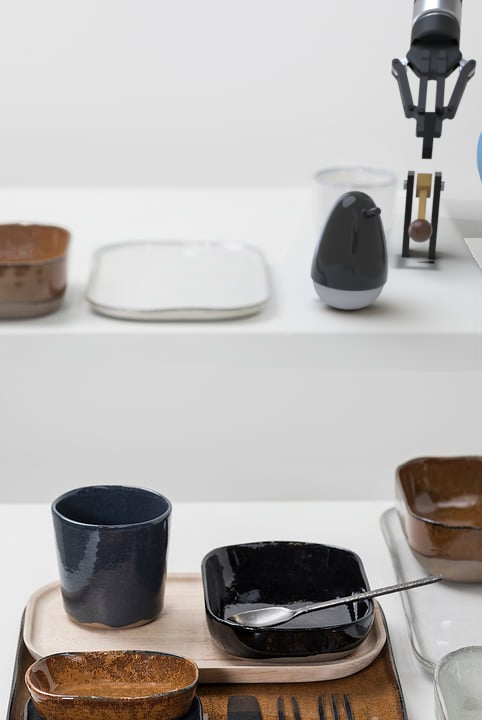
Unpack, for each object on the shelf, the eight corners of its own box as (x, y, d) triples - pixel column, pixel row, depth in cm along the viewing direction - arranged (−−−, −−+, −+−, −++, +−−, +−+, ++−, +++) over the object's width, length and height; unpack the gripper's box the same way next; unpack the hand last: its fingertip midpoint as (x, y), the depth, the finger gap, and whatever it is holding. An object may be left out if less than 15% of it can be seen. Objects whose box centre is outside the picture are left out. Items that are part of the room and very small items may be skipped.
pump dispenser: (334, 321, 140) (344, 206, 133) (294, 295, 148) (302, 185, 141) (400, 310, 144) (413, 198, 137) (357, 285, 152) (367, 178, 145)
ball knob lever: (431, 247, 158) (432, 230, 155) (407, 246, 158) (408, 229, 156) (434, 188, 165) (436, 170, 163) (412, 187, 166) (413, 170, 163)
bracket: (437, 270, 164) (445, 178, 159) (397, 269, 165) (403, 176, 160) (437, 259, 171) (445, 170, 166) (398, 257, 172) (405, 168, 167)
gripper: (476, 46, 171) (470, 170, 163) (393, 46, 174) (382, 167, 165) (481, 11, 165) (474, 138, 156) (394, 11, 167) (383, 136, 158)
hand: (427, 153), depth 160 cm, fingers closed
